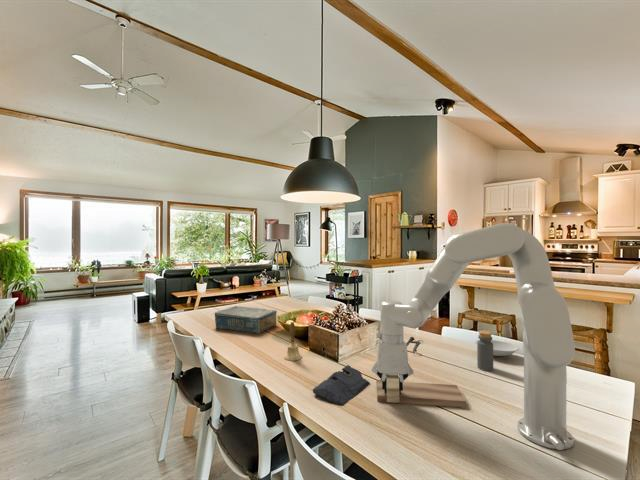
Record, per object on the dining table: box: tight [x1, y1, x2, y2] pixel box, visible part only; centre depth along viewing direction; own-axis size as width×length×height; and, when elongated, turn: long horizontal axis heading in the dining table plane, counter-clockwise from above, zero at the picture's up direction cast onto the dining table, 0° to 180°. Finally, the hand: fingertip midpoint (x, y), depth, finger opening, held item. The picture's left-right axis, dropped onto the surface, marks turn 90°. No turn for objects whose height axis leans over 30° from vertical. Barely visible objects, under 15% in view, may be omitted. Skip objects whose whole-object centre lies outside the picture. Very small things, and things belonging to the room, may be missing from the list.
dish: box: [474, 339, 520, 357], centre depth 143 cm, size 18×14×5 cm
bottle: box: [476, 330, 494, 372], centre depth 130 cm, size 6×6×15 cm
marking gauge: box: [386, 374, 400, 404], centre depth 108 cm, size 10×4×8 cm, turn 171°
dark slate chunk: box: [312, 364, 371, 406], centre depth 114 cm, size 15×22×5 cm
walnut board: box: [375, 379, 467, 408], centre depth 108 cm, size 11×28×2 cm, turn 81°
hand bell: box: [283, 321, 303, 362], centre depth 143 cm, size 8×8×16 cm
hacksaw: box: [405, 336, 423, 357], centre depth 155 cm, size 24×10×2 cm, turn 150°
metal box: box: [214, 305, 278, 335], centre depth 192 cm, size 21×32×10 cm, turn 66°
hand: (392, 391), depth 106 cm, fingers closed on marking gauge, 4 cm apart
